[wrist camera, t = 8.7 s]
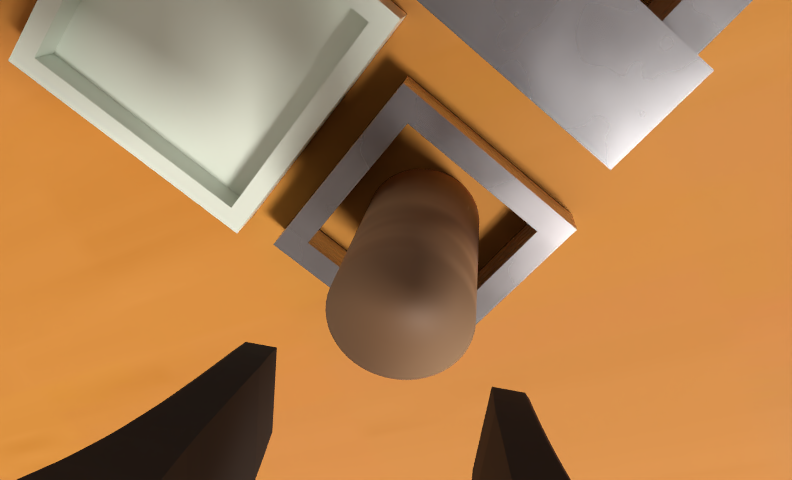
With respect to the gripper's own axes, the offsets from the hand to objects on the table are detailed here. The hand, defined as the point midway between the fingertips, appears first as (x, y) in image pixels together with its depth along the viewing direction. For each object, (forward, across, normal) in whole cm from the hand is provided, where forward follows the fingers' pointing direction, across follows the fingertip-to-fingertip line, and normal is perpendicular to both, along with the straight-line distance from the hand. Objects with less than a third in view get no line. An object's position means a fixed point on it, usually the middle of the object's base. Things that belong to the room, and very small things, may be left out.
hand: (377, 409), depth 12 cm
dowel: (+9, 0, 0) cm, 9 cm away
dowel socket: (+9, 0, 0) cm, 9 cm away
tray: (+9, +7, -5) cm, 13 cm away
